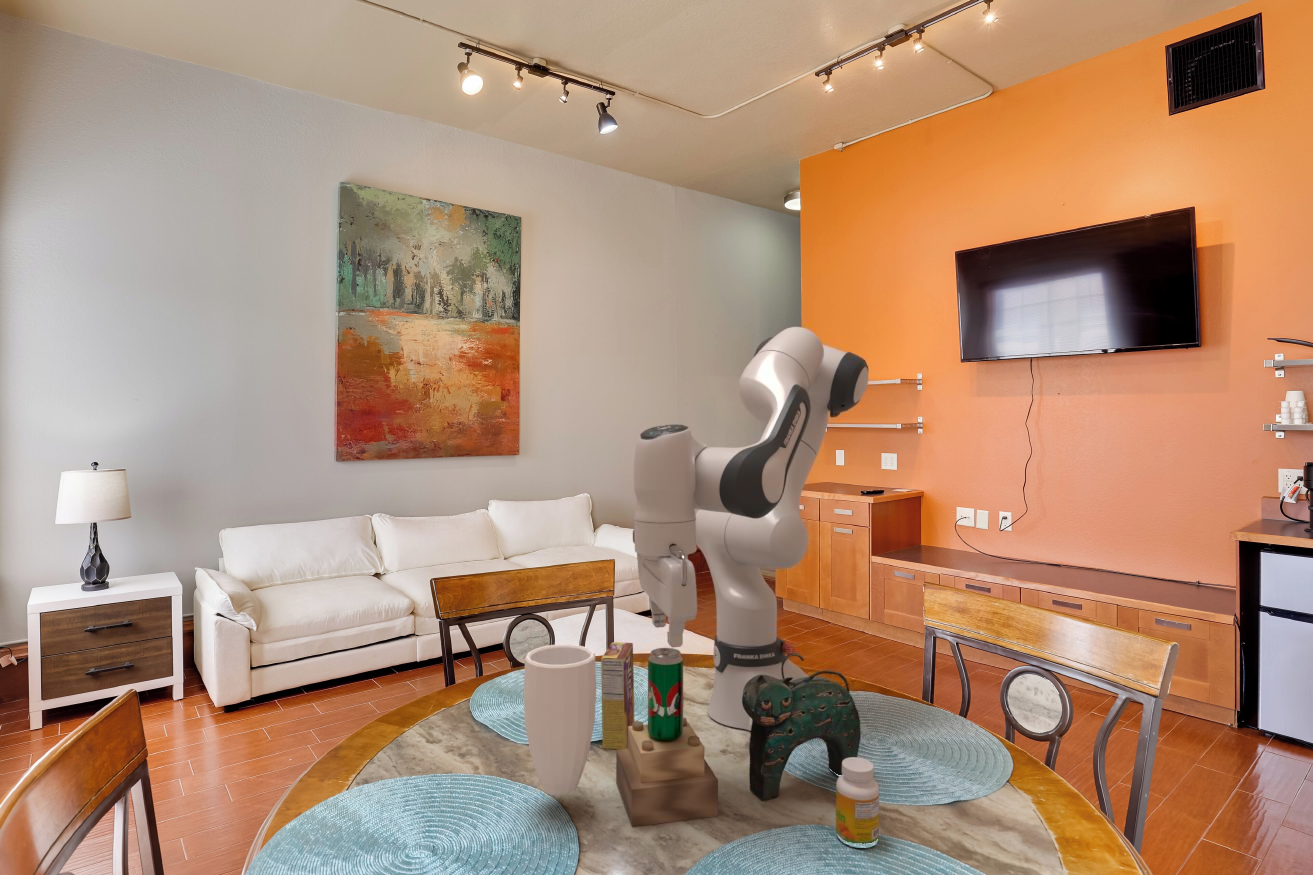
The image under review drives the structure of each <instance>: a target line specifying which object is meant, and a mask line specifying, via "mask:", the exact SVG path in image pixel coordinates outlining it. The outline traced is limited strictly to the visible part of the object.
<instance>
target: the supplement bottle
mask: <svg viewBox="0 0 1313 875" xmlns="http://www.w3.org/2000/svg"><path fill="white" fill-rule="evenodd" d="M874 775H875V768H874V764H873V762H871V761H870V760H868V759H865V758H862V757H858V756H857V757H850V758H846V759H844V760H843V761H842V775H841V776H840V777H837V779H836V785H835V786H836V787H835V833H836V832H837V834H838V835H839V836H840V837H841V838H842V839H843V840H845V841H847V842H852V843H862V844H864V843H865V844H866V843H872V842H874V841H876V840H877V839H878V837H879V838H880V788H879V785H878V783H877V781H876V780H875V779H874ZM878 840H879V839H878Z"/></svg>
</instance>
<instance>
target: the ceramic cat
mask: <svg viewBox="0 0 1313 875" xmlns="http://www.w3.org/2000/svg"><path fill="white" fill-rule="evenodd" d="M785 656H786V657H784V659H783V661H782V667H781V672H782V677H783V679H777V678H774V677H771V676H768V675H757V676H755V677H753V678H752V679H750V680H749V681H748V682H747V683H746V685H745V687H744V690H743V696H742V704H743V708H744V710H745V711H746V713H747V714H748V715H749V716H750V717H751V718H752V726H751V731H750V736H749V745H748V746H749V747H748V751H749V772H748V776H749V790H750V791H751V793H752V794H754V796H756V797H757V798H758V799H759V800H761V801H762V802H764V801H765V802H766V801H768V800H772V799H777V798H778V797H779V793H780V787H781V781H782V776H783V772H784V770H785V767H786V765H787V764H788V761H789V759H790V757H791V754H792V753H793V752H794V750H795V749H796V748H797V747H799V746H801V745H803V744H804V743H807V742H809V741H811V740H815V739H820V740H822V741H823V742H824V743H825V746H826V752H827V758H828V767H829V768H830V769H831V770H832V771H833V772H835V773H836V774H838V775H842V761H843V760H844V759H846V758H850V757H858V754H859V749H860V743H861V737H862V736H861V719H860V715H859V714H860V713H859V711H858V709H857V706H856V703H855V701H854V698H853V696H852V694H851V693H850V692H851V691H850V687H849V684H848V680H847V678H846V677H845V676H844V675H843V674H842V673H841V672H838V671H835V670H820V671H817V672H815V673H813V674H810V675H808V676H809V677H803V678H799V679H795V680H792V679H793V677H787V678H784V673H783V666H784V663H785V661H786V660H787V659H788V660H789V658H790V657H791V658H792V657H798V658H799V659H800V660H801V662H804V661H805V659H804V656H802V655H801V654H800V653H796V652H795V653H791V654H789V655H787V654H786V655H785ZM823 674H824V675H825V674H827V675H828V674H829V675H835V676H838V677H839V678H841V680H842V681H843V682H844V683H845V687H846V688H845V687H844V686H842V685H841V684H839V683H837V682H835V681H833V680H831V679H829V678H827V677H824V676H819V675H823ZM791 680H792V681H791ZM829 768H828V769H829Z"/></svg>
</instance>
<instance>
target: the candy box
mask: <svg viewBox="0 0 1313 875" xmlns="http://www.w3.org/2000/svg"><path fill="white" fill-rule="evenodd" d="M600 664H601V665H600V666H601V667H600V668H601V673H600V674H601V725H602V726H601V728H602V733H601V734H602V735H601V736H602V738H601V739H602V749H606V750H618V749H627V748H628V726H632V723H633V722H635V719H636V718H635V683H634V682H635V681H634V675H635V674H634V643H633V642H622V641H621V642H619V641H618V642H617V641H615V642H611V643H610V645H609V646H608V648H607V650H606V651H605V653H604V654H603V655H602V657H601V659H600Z"/></svg>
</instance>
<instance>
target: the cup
mask: <svg viewBox="0 0 1313 875" xmlns="http://www.w3.org/2000/svg"><path fill="white" fill-rule="evenodd" d="M596 667H597V666H596V654H595V652H594V651H593V650H592V649H590V647H586V646H583V645H577V644H564V643H563V644H551V645H544V646H540V647H536V648H534V649H532V650H530V651H529V652H527V654H526V656H525V658H524V673H523V674H524V678H523V679H524V680H523V708H524V709H523V711H524V727H525V732H526V733H525V734H526V737H527V743H528V746H529V753H530V758H531V760H532V762H533V766H534V768H535V771H536V772H535V773H536V775H537V778H538V780H539V783H540V785H541V786H542V789H543V791H544V792H545V793H546V794H548V795H551V796H565V795H569V794H572V793H573V792H574V791H575V790H576V789H577V787H578V785H579V783H580V780H581V778H582V777H583V776H582V775H583V773H584V770H585V766H586V764H587V760H588V757H589V752H590V747H591V743H592V737H593V732H594V728H595V722H596V721H595V720H596V704H597V703H596V702H597V701H596V699H597V674H596V672H597V670H596Z"/></svg>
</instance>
